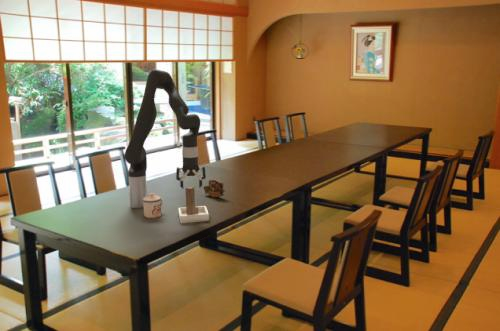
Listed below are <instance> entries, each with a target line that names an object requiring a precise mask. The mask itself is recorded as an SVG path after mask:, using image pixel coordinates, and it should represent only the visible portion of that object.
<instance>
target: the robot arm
mask: <svg viewBox="0 0 500 331" xmlns="http://www.w3.org/2000/svg"><path fill="white" fill-rule="evenodd" d="M157 89H159V90H163V91H165V92H166V93H167V95H168V104H169V107H170V109H171V110H172V112H173V113H174V115H175V118H176V120H177V125H178V127H179V128H180V129H182V130H189V131H188V132H187V133H185V134H184V135H182V151H181V152H182V167H178V166H177V167H176V174H175V175H176V177H175V179H176V180H177V181H179V184H180V188H181V189H184V180H185V179H186V177H195V176H196V177H197V179H198V189H199V188H200V189H202V187H203V180H205V179H206V178H207V177H206V168H205V165H202V166H199V150H198V149H199V148H198V136H199V130H200V128H201V119H200V117H199V115H198V114H196V113H191V114H189V111H190V109H189V107H188V105H187V104H186V102H185V101H184V100H183V98H182V96H181V95H180V93H179V91H178V88H177V86H176V84H175V82H174V79H173V77H172V75H171V74H170V73H169V72H168V71H166V70H160V69H155V68H154V69H152V70H150V72H148V76H147V79H146V83H145V87H144V93H143V96H142V101H141V104H140V108H139V111H138V113H137V117H136V119H135V123H134V127H133V131H132V135H131V137H130V140H129V142H128V144H127V147H126V149H125V152H124V159H125V161H126V162H127V163H128V164H129V165H130V166H129V168H128V171H127V172H128V173H127V174H128V175H127V176H128V186H129V192H128V193H129V203H130V206H129V207H130V209H144V204H143V198H144V197H147V196H148V185H147V168H148V162H147V161H148V160H147V152H146V149H145V147H144V145H145V142H146V140H147V138H148V136H149V134H150V133H151V131H152V129H153V127H154V125H155V122H156V119H157V117H158V116H157V115H158V112H157V107H156V102H155V96H156V93H157ZM181 171H182V172H183V173H182V175H181V176H180V173H181ZM199 171H201V172H202V173H201V174H202V176H201V175H200V173H199Z"/></svg>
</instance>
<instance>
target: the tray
mask: <svg viewBox="0 0 500 331" xmlns="http://www.w3.org/2000/svg"><path fill="white" fill-rule="evenodd" d="M195 207H198V214H194V215H187V211H186V206H185V207H184V206H183V207H178V211H177V212H178V217H179V222H180V224H184V223H197V222H198V223H199V222H200V223H201V222H209V221H210V214H209V212H208V211H209V210H208V208H207V206H206V205H198V206H197V205H195Z"/></svg>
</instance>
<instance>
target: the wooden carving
mask: <svg viewBox="0 0 500 331" xmlns="http://www.w3.org/2000/svg"><path fill="white" fill-rule="evenodd" d="M224 185H225V184H224V182H222V181H221V180H219V179H210V180H208V185H205V186H202V187H203V190H204V194H205V195H209V196H210V197H211V198H221V197H224V196H225V194H224V192H225V193H226V192H227V190H226V189H224Z"/></svg>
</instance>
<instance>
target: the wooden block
mask: <svg viewBox="0 0 500 331" xmlns="http://www.w3.org/2000/svg"><path fill="white" fill-rule="evenodd" d="M195 198H196V196H195V186H188V187H185V207H186V211H187V215H194V214H198V207H196V201H195V200H196V199H195Z"/></svg>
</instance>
